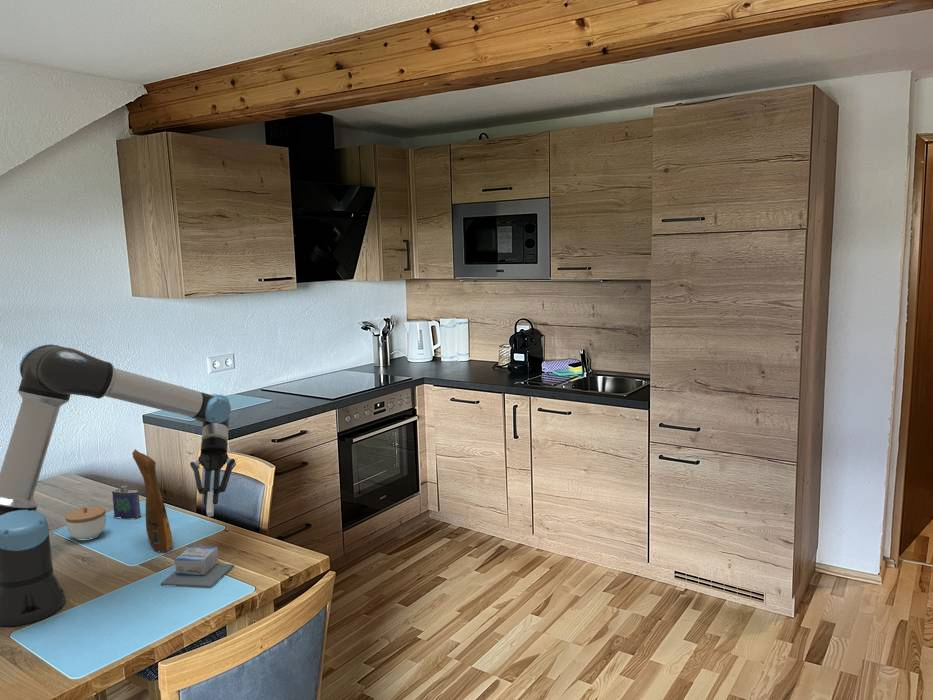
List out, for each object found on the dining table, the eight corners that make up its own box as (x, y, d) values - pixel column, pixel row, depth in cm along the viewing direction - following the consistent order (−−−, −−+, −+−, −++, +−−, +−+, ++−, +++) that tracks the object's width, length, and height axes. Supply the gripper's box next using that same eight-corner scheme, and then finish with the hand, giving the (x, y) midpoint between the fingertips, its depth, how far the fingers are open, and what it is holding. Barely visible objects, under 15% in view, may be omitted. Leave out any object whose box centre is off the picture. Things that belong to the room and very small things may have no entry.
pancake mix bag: (151, 558, 195) (142, 462, 191) (139, 536, 211) (131, 447, 206) (177, 552, 199) (168, 457, 195) (163, 531, 214) (155, 443, 210)
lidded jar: (115, 531, 215) (112, 502, 214) (88, 545, 205) (85, 515, 203) (87, 528, 218) (84, 500, 216) (59, 542, 208) (56, 512, 206)
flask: (142, 516, 227) (139, 484, 226) (136, 519, 224) (133, 487, 223) (117, 514, 229) (114, 483, 227) (111, 518, 226) (108, 486, 224)
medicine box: (217, 546, 190) (202, 560, 181) (219, 561, 190) (203, 576, 182) (190, 545, 190) (173, 559, 182) (191, 561, 191) (175, 575, 183)
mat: (211, 587, 176) (211, 585, 176) (160, 585, 179) (160, 583, 179) (233, 566, 188) (233, 564, 188) (186, 564, 190) (185, 562, 190)
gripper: (238, 446, 215) (235, 517, 201) (194, 449, 212) (188, 522, 198) (235, 433, 209) (231, 506, 195) (189, 437, 206) (182, 511, 193)
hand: (209, 514), depth 197 cm, fingers closed
